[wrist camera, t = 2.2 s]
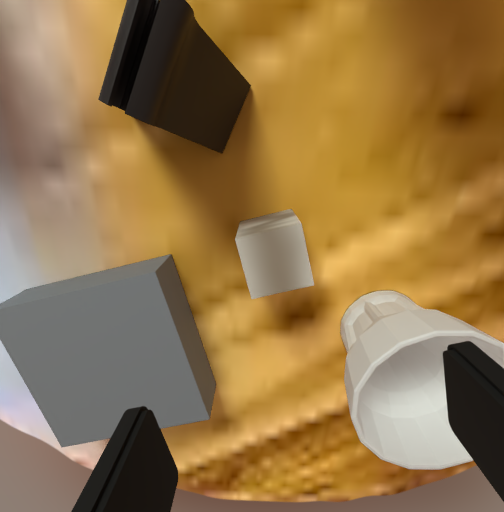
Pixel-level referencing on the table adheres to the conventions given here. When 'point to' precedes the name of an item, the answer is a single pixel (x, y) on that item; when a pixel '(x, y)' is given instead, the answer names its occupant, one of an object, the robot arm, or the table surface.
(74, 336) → the slate block
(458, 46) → the table surface
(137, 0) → the phone stand
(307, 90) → the table surface
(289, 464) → the table surface
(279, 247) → the cream block
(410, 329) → the cup
